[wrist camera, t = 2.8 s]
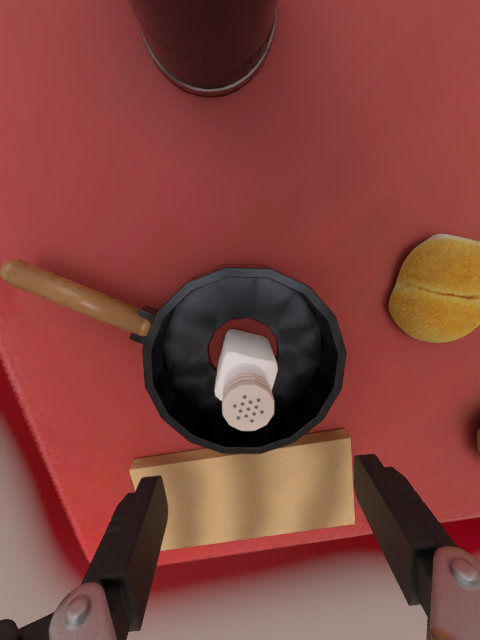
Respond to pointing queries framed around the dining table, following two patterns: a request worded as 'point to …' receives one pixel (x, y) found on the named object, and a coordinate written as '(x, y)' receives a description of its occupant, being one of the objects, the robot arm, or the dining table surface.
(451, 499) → the dining table surface
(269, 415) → the pepper shaker
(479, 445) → the onion
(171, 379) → the pan
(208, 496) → the board
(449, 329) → the bread roll
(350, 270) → the dining table surface
